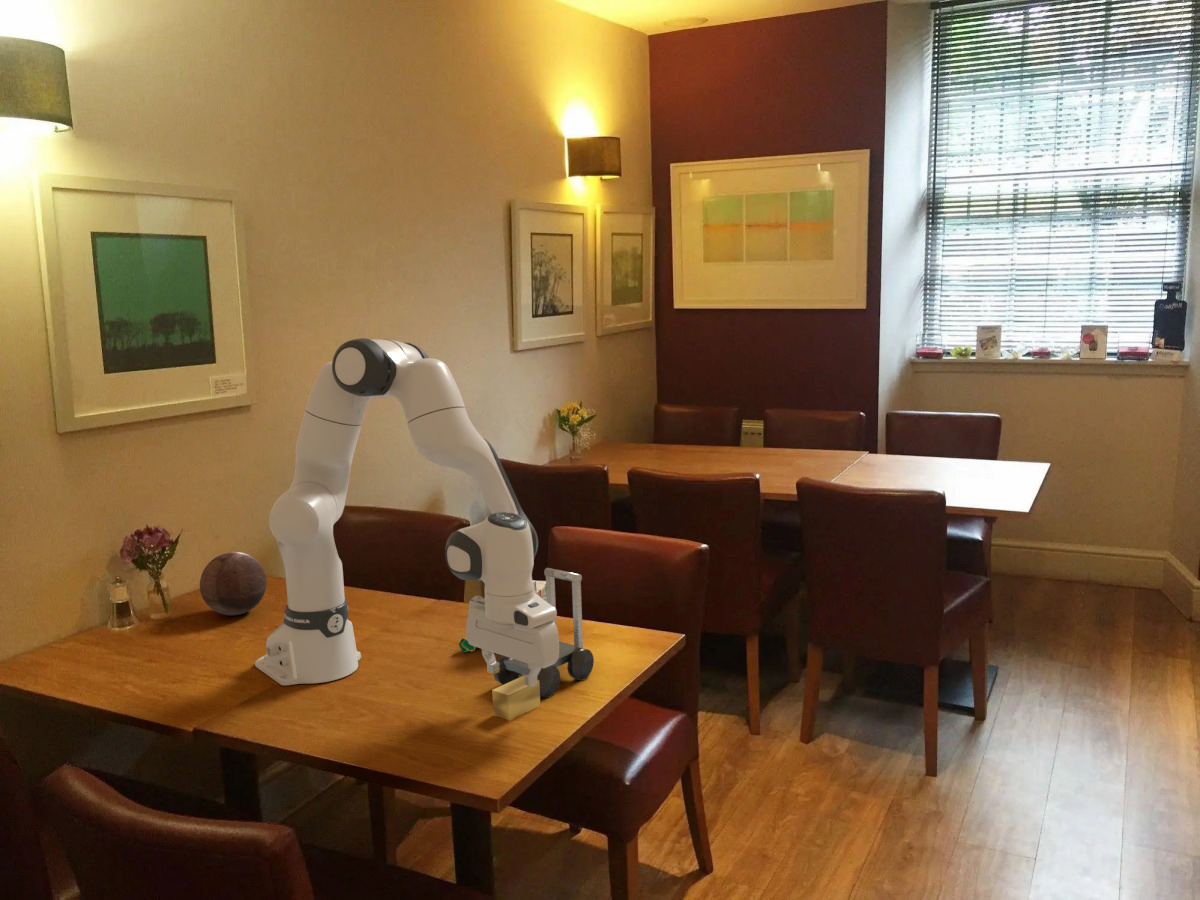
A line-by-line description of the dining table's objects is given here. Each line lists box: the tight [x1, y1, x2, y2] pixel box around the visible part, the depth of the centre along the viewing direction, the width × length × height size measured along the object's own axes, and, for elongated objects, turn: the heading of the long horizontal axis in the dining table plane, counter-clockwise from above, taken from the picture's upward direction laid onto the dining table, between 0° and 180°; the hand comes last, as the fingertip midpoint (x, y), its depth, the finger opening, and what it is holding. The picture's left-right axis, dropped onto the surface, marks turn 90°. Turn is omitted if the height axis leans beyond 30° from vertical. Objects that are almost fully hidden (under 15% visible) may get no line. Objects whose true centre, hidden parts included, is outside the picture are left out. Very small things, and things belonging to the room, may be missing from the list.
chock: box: [491, 676, 541, 721], centre depth 181 cm, size 4×8×5 cm, turn 140°
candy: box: [458, 637, 477, 653], centre depth 216 cm, size 12×3×4 cm
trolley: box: [493, 567, 595, 699], centre depth 193 cm, size 16×12×20 cm
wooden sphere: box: [199, 551, 268, 616], centre depth 240 cm, size 15×15×15 cm
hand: (512, 678), depth 180 cm, fingers open, 8 cm apart
